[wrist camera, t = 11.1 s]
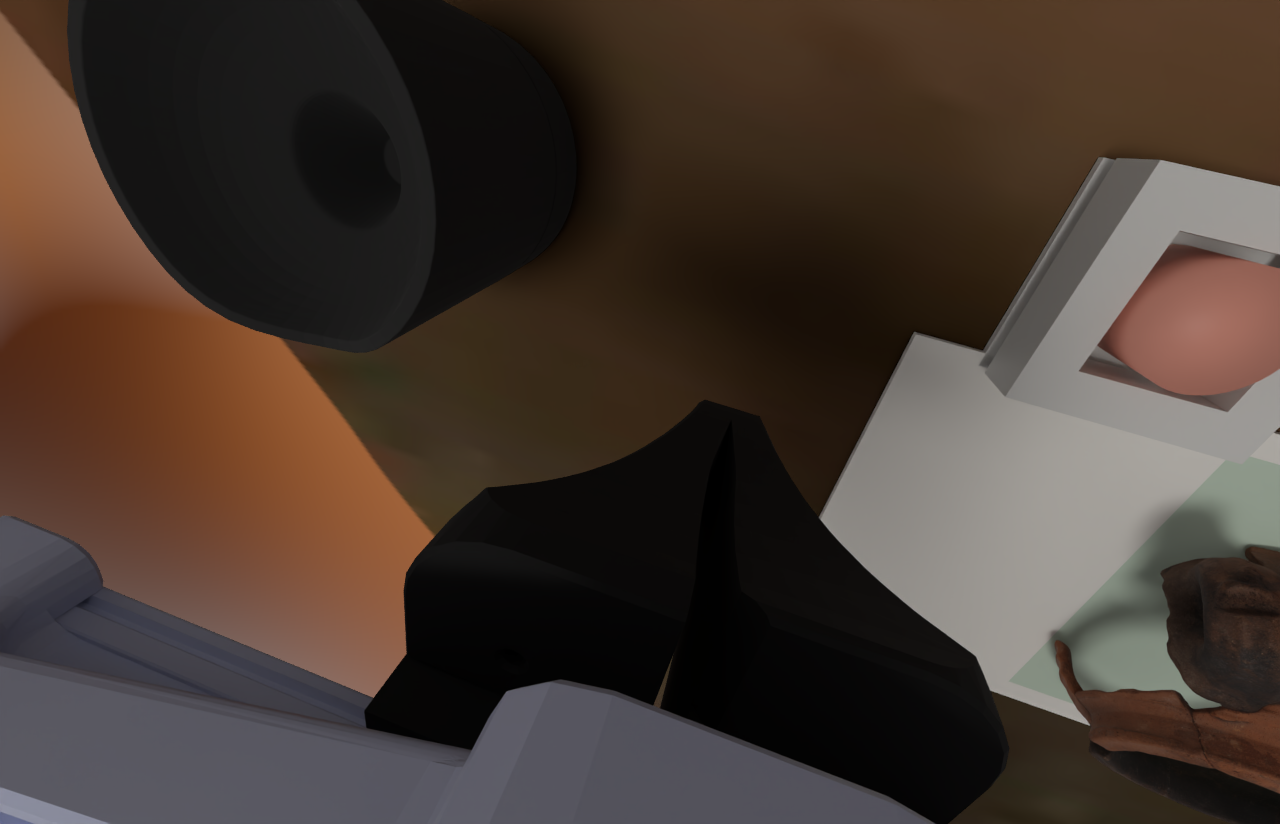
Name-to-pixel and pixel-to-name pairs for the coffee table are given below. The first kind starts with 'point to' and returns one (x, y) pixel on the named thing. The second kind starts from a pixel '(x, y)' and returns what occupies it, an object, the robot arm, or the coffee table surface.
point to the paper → (1038, 526)
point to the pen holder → (323, 155)
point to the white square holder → (1105, 282)
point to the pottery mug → (1203, 695)
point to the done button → (1200, 323)
